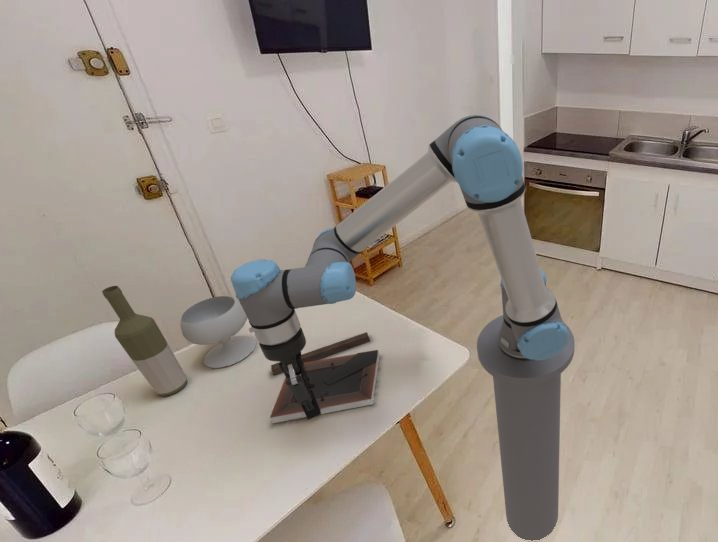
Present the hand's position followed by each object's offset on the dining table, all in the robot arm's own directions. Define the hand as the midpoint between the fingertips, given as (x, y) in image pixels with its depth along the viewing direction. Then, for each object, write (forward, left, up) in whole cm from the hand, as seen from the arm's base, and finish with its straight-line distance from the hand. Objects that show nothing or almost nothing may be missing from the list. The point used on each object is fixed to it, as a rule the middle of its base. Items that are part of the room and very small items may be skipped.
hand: (314, 414), depth 91 cm
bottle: (+30, -30, -2) cm, 42 cm away
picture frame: (-4, -8, -2) cm, 10 cm away
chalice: (+18, -37, -2) cm, 41 cm away
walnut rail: (-4, -22, -2) cm, 22 cm away
